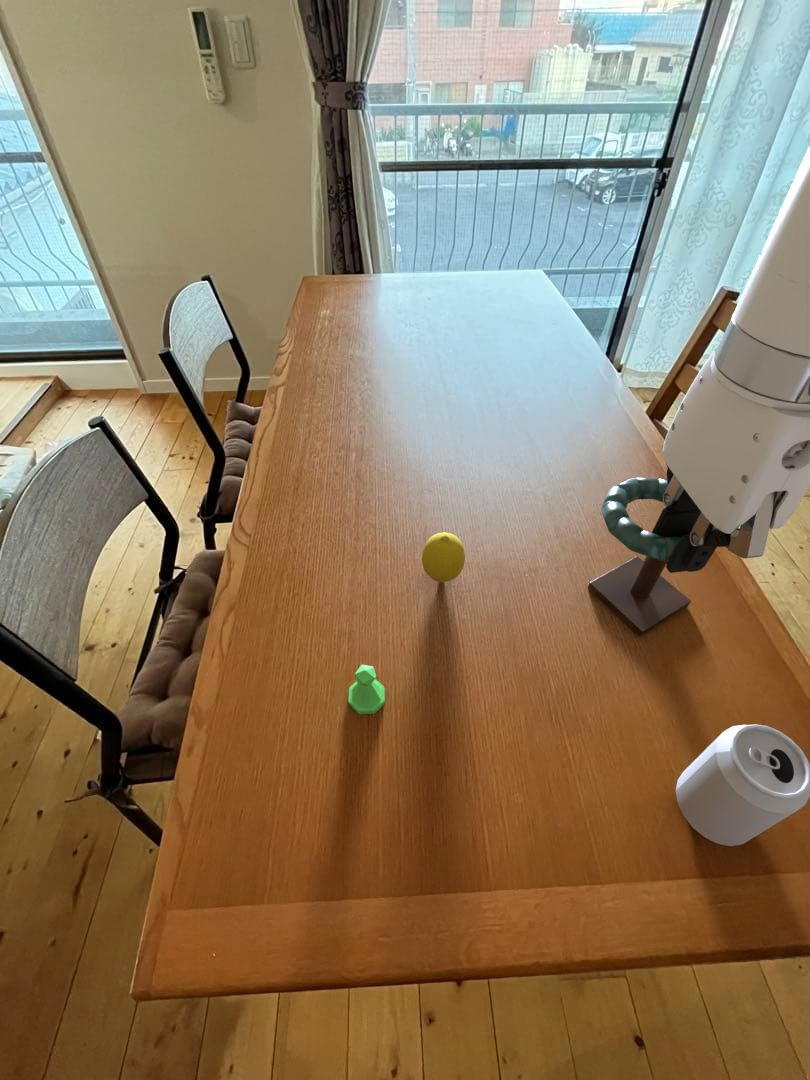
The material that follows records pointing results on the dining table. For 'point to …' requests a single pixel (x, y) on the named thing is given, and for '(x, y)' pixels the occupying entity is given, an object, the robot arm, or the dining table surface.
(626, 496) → the ring
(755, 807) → the can
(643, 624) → the post
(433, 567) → the lemon
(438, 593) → the dining table surface
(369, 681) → the game piece
